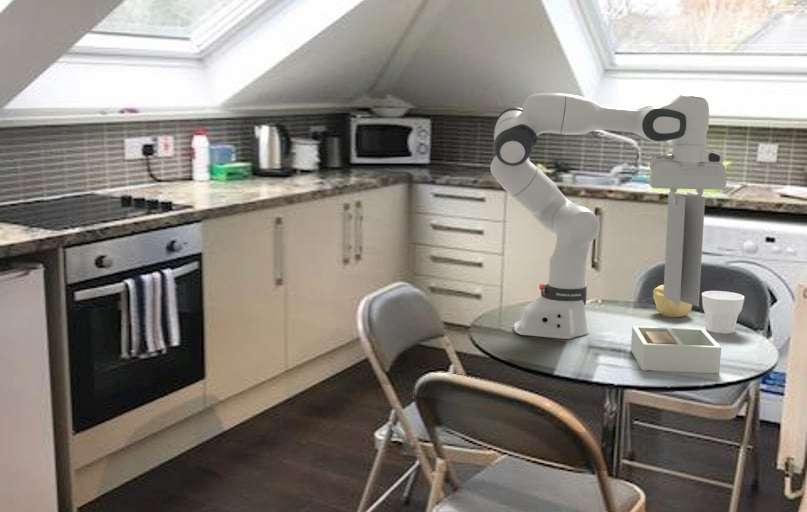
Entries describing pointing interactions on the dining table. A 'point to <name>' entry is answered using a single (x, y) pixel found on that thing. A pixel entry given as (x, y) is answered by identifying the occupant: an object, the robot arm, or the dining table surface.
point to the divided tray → (677, 350)
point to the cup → (721, 310)
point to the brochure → (684, 248)
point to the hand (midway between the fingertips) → (685, 205)
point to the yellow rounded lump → (669, 304)
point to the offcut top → (658, 338)
